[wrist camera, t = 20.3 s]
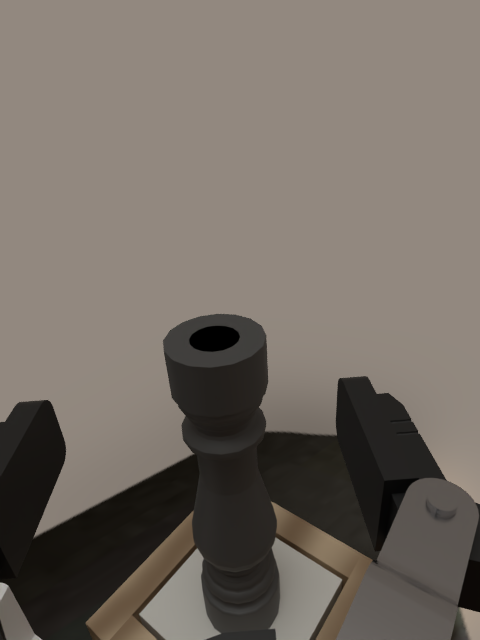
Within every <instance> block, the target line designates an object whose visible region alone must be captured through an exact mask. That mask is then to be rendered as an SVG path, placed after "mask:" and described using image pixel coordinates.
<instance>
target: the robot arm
mask: <svg viewBox="0 0 480 640" xmlns="http://www.w3.org/2000/svg"><path fill="white" fill-rule="evenodd" d="M336 411H337V412H336V429H337V437H338V441H339V445H340V448H341V451H342V454H343V457H344V460H345V463H346V466H347V469H348V472H349V475H350V478H351V481H352V484H353V487H354V490H355V493H356V496H357V499H358V502H359V505H360V508H361V511H362V514H363V517H364V520H365V523H366V526H367V529H368V532H369V535H370V538H371V541H372V544H373V547H374V550H375V551H381V552H380V554H379V556H378V558H377V560H376V561H374V560H373V561H372V562H371V563H370V565H369V566H368V568H367V570H366V572H365V575H364V577H363V579H362V581H361V584H360V586H359V588H358V591H357V593H356V595H355V597H354V600H353V602H352V604H351V606H350V609H349V611H348V613H347V615H346V618H345V620H344V622H343V625H342V627H341V629H340V631H339V634H338V636H337V638H336V640H450V639H451V635H452V631H453V627H454V623H455V619H456V614H457V610H458V607H461V608H465V609H469V610H473V611H477V612H480V504H478V503H475V502H474V500H473V499H472V498H471V496H469V494H468V493H466V491H464V490H463V489H462V488H460V487H459V486H457V485H455V484H453V483H451V482H449V481H447V480H446V479H445V477H444V475H443V474H442V472H441V470H440V468H439V467H438V465H437V463H436V462H435V460H434V458H433V456H432V454H431V453H430V451H429V449H428V447H427V446H426V444H425V442H424V440H423V439H422V437H421V435H420V434H418V430H417V429H416V427H415V425H414V423H413V422H411V418H410V416H409V414H408V413H407V411H406V409H405V407H404V406H403V405H402V404H401V403H400V402H399V401H398V400H396V399H395V398H394V397H393V396H391V395H390V394H389V393H384V394H376V392H375V390H374V388H373V386H372V384H371V382H370V380H369V379H368V377H366V376H363V377H350V378H340V379H339V381H338V391H337V410H336ZM65 455H66V446H65V441H64V438H63V435H62V432H61V429H60V426H59V423H58V420H57V417H56V415H55V412H54V409H53V406H52V404H51V402H50V401H48V400H42V401H29V402H19V403H18V404H17V405H16V406H15V407H14V409H13V411H12V412H11V414H10V415H9V417H8V418H7V420H6V421H5V422H0V579H11V578H17V576H18V573H19V571H20V568H21V566H22V563H23V561H24V559H25V556H26V554H27V551H28V549H29V547H30V544H31V542H32V539H33V537H34V535H35V532H36V530H37V527H38V525H39V522H40V520H41V518H42V515H43V513H44V510H45V508H46V505H47V503H48V501H49V498H50V496H51V494H52V491H53V489H54V486H55V484H56V481H57V479H58V477H59V474H60V472H61V469H62V467H63V464H64V461H65ZM0 640H6V637H5V634H4V630H3V627H2V624H1V621H0ZM206 640H276V631H275V629H264V630H251V631H239V632H226V633H221V634H219V635H216V636H214V637H211V638H208V639H206Z"/></svg>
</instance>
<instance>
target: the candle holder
mask: <svg viewBox="0 0 480 640" xmlns="http://www.w3.org/2000/svg"><path fill="white" fill-rule="evenodd" d="M163 345H164V355H165V360H166V366H167V372H168V378H169V383H170V389H171V395H172V398H173V400H174V401H175V402H176V403H177V404H178V407H179V408H180V409H181V411H182V412H183V413H184V414H185V415H186V417H185V419H184V421H183V423H182V434H183V440H184V442H185V443H186V444H187V445H188V447H189V448H190V449H191V451H192V452H193V453H195V454H197V458H198V464H199V471H200V476H199V482H198V488H197V495H196V501H195V507H194V513H193V518H192V530H193V539H194V543H195V545H196V547H197V548H198V550H199V552H200V553H201V555H202V556H203V558H204V559H203V562H202V569H203V570H202V574H201V582H202V591H203V597H204V602H205V608H206V613H207V616H208V618H209V620H210V621H211V623H212V625H213V627H214V629H216V630H217V631H218V632H220V633H226V632H239V631H251V630H264V629H269V628H270V627H271V625H272V624H273V622H274V620H275V618H276V616H277V615H278V611H279V603H280V577H279V571H278V567H277V563H276V560H275V558H274V554H273V550H272V546H273V544H274V542H275V536H276V530H277V518H276V515H275V512H274V508H273V505H272V503H271V500H270V498H269V495H268V493H267V490H266V488H265V485H264V483H263V480H262V478H261V475H260V473H259V470H258V464H257V448H256V447H257V445H258V444H259V443H260V442H261V441H262V439H263V436H264V432H265V427H266V420H265V417H264V415H263V412H262V410H261V409H260V408H259V406H260V404H261V402H262V398H263V395H264V394H265V392H266V388H267V384H268V369H267V368H268V367H267V344H266V334H265V332H264V330H263V328H262V326H261V325H259V324H258V323H256V322H255V321H253V320H252V319H249V318H246V317H242V316H237V315H229V314H215V315H208V316H200V317H197V318H194V319H191V320H188V321H185V322H183V323H181V324H180V325H178V326H176V327H175V328H173V329H172V330H170V331H169V333H168V335H167V336H166V337H165V339H164V340H163Z"/></svg>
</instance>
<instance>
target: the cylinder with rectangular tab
mask: <svg viewBox="0 0 480 640" xmlns="http://www.w3.org/2000/svg"><path fill="white" fill-rule="evenodd" d="M0 621H1V624H2V627H3V630H4V634H5V637H6V640H42V639H41V638H39V637H38V636H36V635H35V634H34V632H33V630H32V628H31V627H30V625H29V623H28V621H27V619H26V617H25V616H24V614H23V612H22V610H21V608H20V606H19V605H18V603H17V601H16V599H15V597H14V595H13V593H12V592H11V590H10V588H9V586H8V585H6V584H4V583H0Z"/></svg>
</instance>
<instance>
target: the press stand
mask: <svg viewBox="0 0 480 640" xmlns="http://www.w3.org/2000/svg"><path fill="white" fill-rule="evenodd" d="M271 503H272V505H273V508H274V512H275V515H276V518H277V530H276V536H275V537H276V538H277V539H279V540H280V541H282V542H284V543H285V544H287V545H288V546H290V547H292V548H293V549H295V550H296V551H298V552H300V553H301V554H303V555H304V556H306V557H307V558H309V559H311V560H312V561H314V562H315V563H317V564H319V565H320V566H322V567H323V568H325V569H326V570H328V571H330V572H331V573H333V574H334V575H336V576H338V577H339V578H341V579H342V589H341V593H340V595H339V597H338V599H337V601H336V603H335V604H334V606H333V608H332V610H331V612H330V614H329V616H328V617H327V619H326V621H325V623H324V625H323V627H322V628H321V630H320V632H319V634H318V636H317V638H316V640H336V638H337V636H338V634H339V631H340V629H341V627H342V625H343V622H344V620H345V618H346V615H347V613H348V611H349V609H350V606H351V604H352V602H353V600H354V597H355V595H356V593H357V591H358V588H359V586H360V584H361V581H362V579H363V577H364V575H365V572H366V570H367V568H368V566H369V565H370V563H371V562H372V561H373V560H371V559H370V558H368V557H366V556H365V555H363V554H361V553H359V552H358V551H356V550H354V549H352V548H351V547H349V546H347V545H346V544H344V543H342V542H340V541H339V540H337V539H335V538H333V537H332V536H330V535H328V534H327V533H325V532H323V531H321V530H320V529H318V528H316V527H314V526H313V525H311V524H309V523H308V522H306V521H304V520H302V519H301V518H299V517H297V516H295V515H294V514H292V513H290V512H289V511H287V510H285V509H283V508H282V507H280V506H278V505H276V504H275V503H273V502H271ZM193 513H194V511H193V512H192V513H191V514H190V515H189V516H188V517H187V518H186V519H185V520H184V521H183V522H182V523H181V524H180V525H179V526H178V527H177V528H176V529H175V530H174V531H173V533H172V534H171V535H170V536H169V537H168V538H167V539H166V540H165V541H164V542H163V543H162V544H161V545H160V546H159V547H158V548H157V549H156V550H155V551H154V552H153V553H152V554H151V555H150V556H149V557H148V559H147V560H146V561H145V562H144V563H143V564H142V565H141V566H140V567H139V568H138V569H137V570H136V571H135V572H134V573H133V574H132V575H131V576H130V577H129V578H128V579H127V580H126V581H125V582H124V583H123V585H122V586H121V587H120V588H119V589H118V590H117V591H116V592H115V593H114V594H113V595H112V596H111V597H110V598H109V599H108V600H107V601H106V602H105V603H104V604H103V605H102V606H101V607H100V608H99V609H98V610H97V612H96V613H95V614H94V615H93V616H92V617H91V618H90V619H89V620H88V621H87V622H86V625H87V627H88V630H89V632H90V634H91V637H92V639H93V640H157V639H156V638H155V637H154V636H153V635H152V634H151V633H150V632H149V631H148V630H147V629H146V628H145V627H144V626H143V625H142V622H141V619H140V616H139V614H140V613H141V612H142V610H143V609H144V608H145V607H146V606H147V605H148V604H149V602H150V601H151V600H152V599H153V598H154V597H155V596H156V594H157V593H158V592H159V591H160V590H161V589H162V588H163V587H164V585H165V584H166V583H167V582H168V581H169V580H170V579H171V577H172V576H173V575H174V574H175V573H176V572H177V571H178V570H179V568H180V567H181V566H182V565H183V564H184V563H185V562H186V560H187V559H188V558H189V557H190V556H191V555H192V554H193V552H194V551H195V550H196V549H197V547H196V545H195V543H194V539H193V530H192V518H193Z"/></svg>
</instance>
